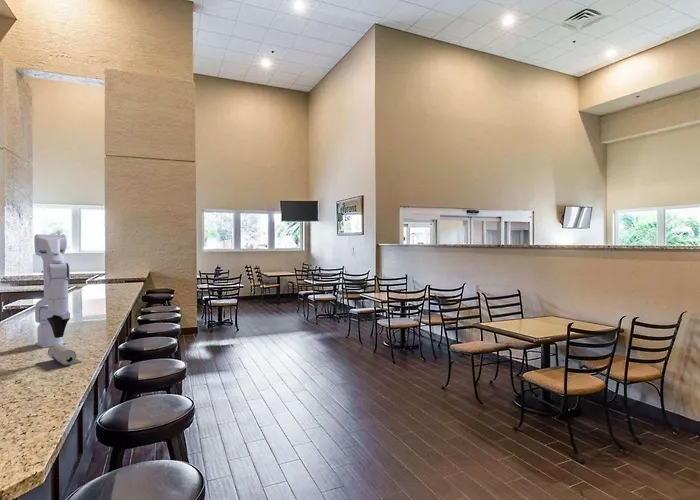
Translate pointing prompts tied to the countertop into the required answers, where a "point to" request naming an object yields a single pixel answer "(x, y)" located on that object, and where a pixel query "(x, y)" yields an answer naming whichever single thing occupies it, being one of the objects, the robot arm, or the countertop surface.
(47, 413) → the countertop surface
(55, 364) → the mat
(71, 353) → the energy drink
